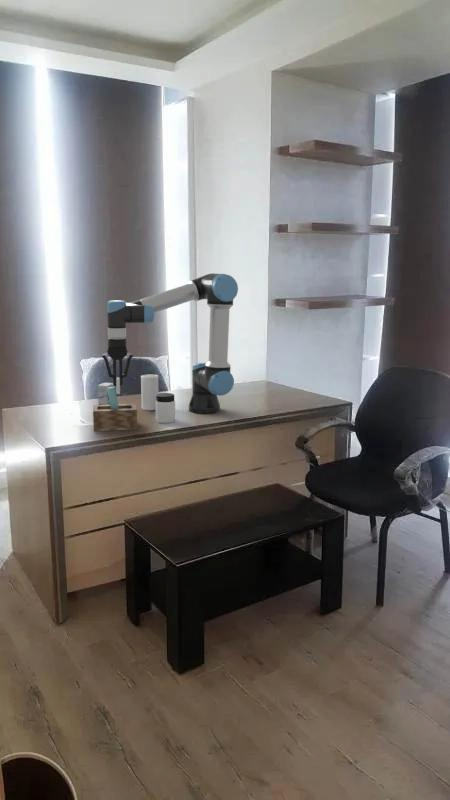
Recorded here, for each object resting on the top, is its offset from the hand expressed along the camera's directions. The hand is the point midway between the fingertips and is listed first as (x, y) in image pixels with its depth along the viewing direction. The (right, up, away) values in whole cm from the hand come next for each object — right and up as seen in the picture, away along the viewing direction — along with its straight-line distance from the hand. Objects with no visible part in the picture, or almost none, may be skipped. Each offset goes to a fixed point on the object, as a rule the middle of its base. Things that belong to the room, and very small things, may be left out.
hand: (118, 393), depth 261 cm
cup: (+9, -7, +38) cm, 39 cm away
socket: (-2, -14, +3) cm, 15 cm away
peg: (-1, -13, +3) cm, 13 cm away
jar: (+19, -12, +14) cm, 26 cm away
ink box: (-12, -7, +37) cm, 40 cm away
